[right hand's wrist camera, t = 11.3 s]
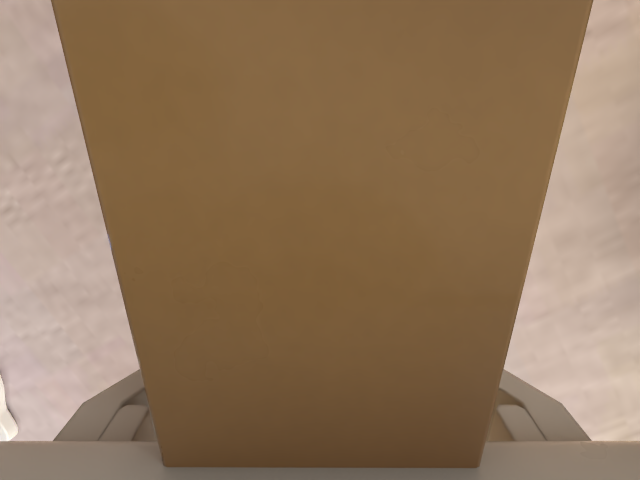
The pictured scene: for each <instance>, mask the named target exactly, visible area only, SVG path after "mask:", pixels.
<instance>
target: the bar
mask: <svg viewBox="0 0 640 480" xmlns="http://www.w3.org/2000/svg"><path fill="white" fill-rule="evenodd" d="M51 2H52V6H53V10H54V15H55V19H56V23H57V27H58V31H59V35H60V39H61V44H62V48H63V52H64V56H65V60H66V64H67V68H68V73H69V77H70V81H71V85H72V89H73V93H74V97H75V101H76V106H77V110H78V114H79V118H80V122H81V126H82V130H83V135H84V139H85V143H86V147H87V151H88V155H89V159H90V164H91V168H92V172H93V176H94V180H95V184H96V188H97V193H98V197H99V201H100V205H101V209H102V213H103V217H104V222H105V226H106V230H107V234H108V238H109V242H110V246H111V251H112V255H113V259H114V263H115V267H116V271H117V275H118V280H119V284H120V288H121V292H122V296H123V300H124V304H125V309H126V313H127V317H128V321H129V325H130V329H131V333H132V337H133V342H134V346H135V350H136V354H137V358H138V362H139V366H140V371H141V375H142V379H143V383H144V387H145V391H146V395H147V400H148V404H149V408H150V412H151V416H152V420H153V424H154V429H155V433H156V437H157V441H158V445H159V449H160V453H161V458H162V462H163V466H165V467H245V468H477V467H479V466H480V462H481V458H482V454H483V450H484V446H485V442H486V438H487V434H488V429H489V425H490V421H491V417H492V413H493V409H494V405H495V401H496V397H497V393H498V388H499V384H500V380H501V376H502V372H503V368H504V364H505V360H506V356H507V352H508V347H509V343H510V339H511V335H512V331H513V327H514V323H515V319H516V315H517V311H518V306H519V302H520V298H521V294H522V290H523V286H524V282H525V278H526V274H527V270H528V266H529V261H530V257H531V253H532V249H533V245H534V241H535V237H536V233H537V229H538V225H539V220H540V216H541V212H542V208H543V204H544V200H545V196H546V192H547V188H548V184H549V179H550V175H551V171H552V167H553V163H554V159H555V155H556V151H557V147H558V143H559V138H560V134H561V130H562V126H563V122H564V118H565V114H566V110H567V106H568V102H569V97H570V93H571V89H572V85H573V81H574V77H575V73H576V69H577V65H578V61H579V56H580V52H581V48H582V44H583V40H584V36H585V32H586V28H587V24H588V20H589V15H590V11H591V7H592V3H593V0H51Z"/></svg>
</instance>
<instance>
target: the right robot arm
mask: <svg viewBox="0 0 640 480" xmlns="http://www.w3.org/2000/svg"><path fill="white" fill-rule="evenodd" d="M17 433H18V427H17V424H16V422H15V420H14V419H13V417H12V415H11V414H10V412H9V410H8V409H7V406H6V400H5V388H4V383H3V380H2V377H1V374H0V480H640V441H591V439H590V438H589V437H588V436H587V434H586V433H585V432H584V431H583V429H582V428H581V427H580V426H579V424H578V423H577V422H576V421H575V419H574V418H573V417H572V416H571V414H570V413H569V412H568V411H567V410H566V408H565V407H564V406H563V405H562V403H560V402H558V401H556V400H555V399H553V398H551V397H550V396H548V395H546V394H545V393H543V392H541V391H540V390H538V389H536V388H535V387H533V386H531V385H529V384H528V383H526V382H524V381H523V380H521V379H519V378H518V377H516V376H514V375H513V374H511V373H509V372H508V371H506V370H504V369H503V372H502V376H501V380H500V384H499V388H498V393H497V397H496V401H495V405H494V409H493V413H492V417H491V421H490V425H489V429H488V434H487V438H486V442H485V446H484V450H483V454H482V458H481V462H480V466H479V467H477V468H245V467H165V466H163V462H162V458H161V453H160V449H159V445H158V441H157V437H156V433H155V429H154V424H153V420H152V416H151V412H150V408H149V404H148V400H147V395H146V391H145V387H144V383H143V379H142V375H141V371H140V369H139V370H138V371H136V372H134V373H133V374H131V375H129V376H128V377H126V378H124V379H123V380H121V381H119V382H118V383H116V384H114V385H113V386H111V387H109V388H108V389H106V390H104V391H102V392H101V393H99V394H97V395H96V396H94V397H92V398H91V399H89V400H87V401H86V402H84V403H83V404H82V405H81V406H80V408H79V409H78V410H77V411H76V413H75V414H74V415H73V416H72V418H71V419H70V420H69V421H68V423H67V424H66V425H65V426H64V428H63V429H62V430H61V431H60V433H59V434H58V435H57V436H56V438H55V439H54V440H53V441H10V440H11V439H12V438H13V437H14V436H15V435H16V434H17Z"/></svg>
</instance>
